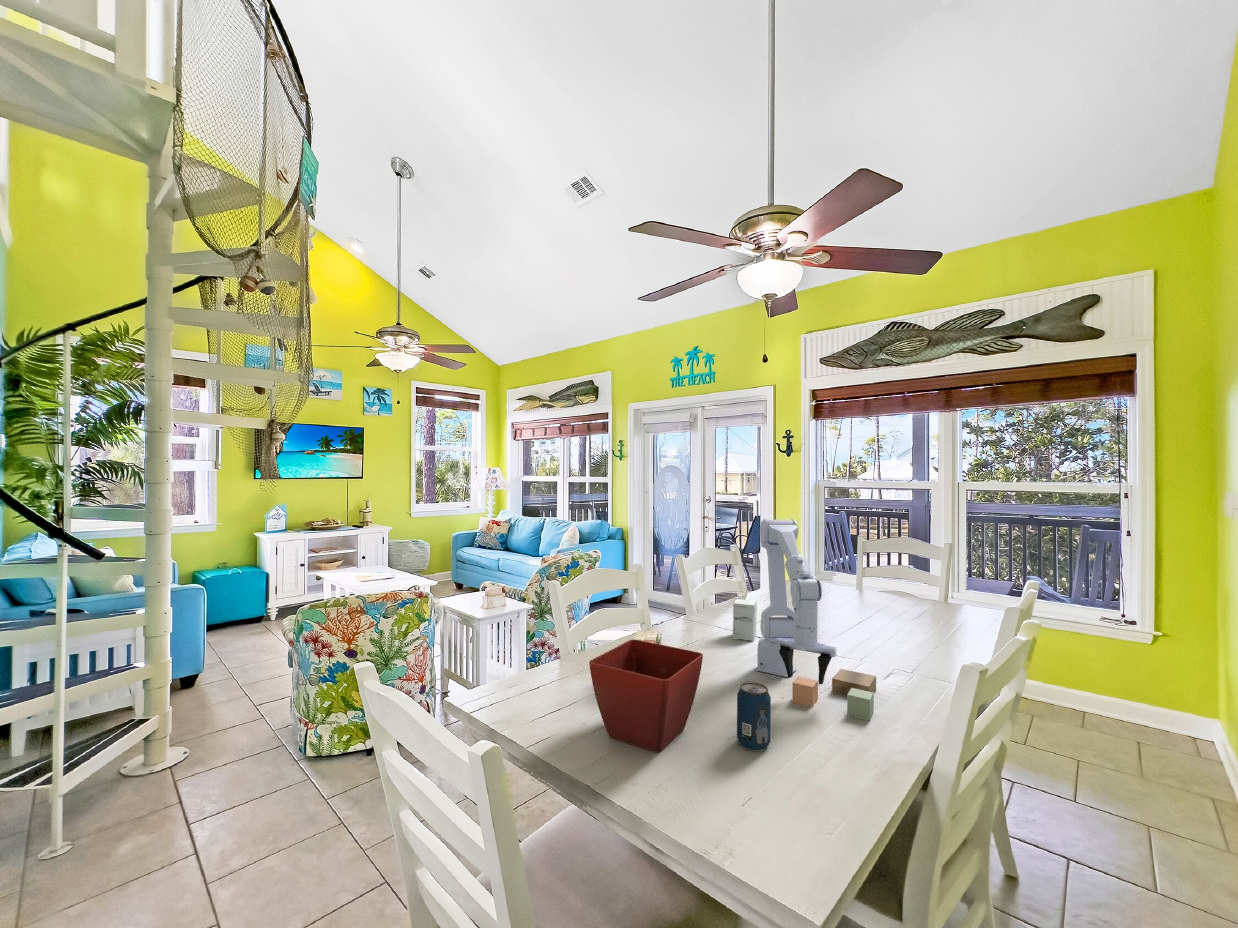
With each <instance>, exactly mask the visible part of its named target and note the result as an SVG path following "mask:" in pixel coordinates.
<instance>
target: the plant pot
mask: <svg viewBox="0 0 1238 928" xmlns="http://www.w3.org/2000/svg"><path fill="white" fill-rule="evenodd" d="M703 658H704V654H703V653H702V652H698V651H694V650H689V649H684V648H679V647H674V646H671V645H670V646H669V645H664V644H662V645H660V644H656V643H651V642H646V641H641V640H635V639H634V638H633V639H629V640H628V641H626V642H624V643H622V644H619V645H617V646H615V647H614V648H612V649H610V650H608V651H606V652H604V653H602V654H600V655H598V656H596V657H594V658H593V659H590V660H589V664H588V665H589V671H590V672H589V673H590V677H591V682H592V688H593V691H594V695H595V700H596V704H597V706H598V711H599V714H600V716H601V720H602V722H603V724H604V727H605V731H606V732H607V735H608V737H609V738H610V739H613V740H617V741H620V742H624V743H626V744H629V745H633V746H635V747H638V748H642V749H645V750H648V751H651V752H655V753H660V752H662V751H663V750H664V749H665V748H666V747H667V746H668V745H669V744H670V743H671V742H672V741H673V740H674V739H675V738H677V737H678V735H680V734H681V733H682V732H683V731H684V730H685V728H686V725H687V722H688V720H689V717H690V714H691V710H692V708H693V704H694V701H695V697H696V694H697V689H698V685H699V681H700V676H701V671H702V665H703Z"/></svg>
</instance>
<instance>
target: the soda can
mask: <svg viewBox="0 0 1238 928" xmlns="http://www.w3.org/2000/svg"><path fill="white" fill-rule="evenodd" d="M738 689H739V690H738V692H737V694H736V696H737V697H736V698H737V699H736V701H737V702H736V738H737V741H738V742H739V744H740V746H741V747H742V748H744V749H745V750H747V751H751V750H754V751H753V752H762V751H764V750H766V749H767V748H768V746H769V745H770V744H771V733H772V732H771V731H772V730H771V726H772V725H771V720H772V719H771V718H772V717H771V716H772V715H771V711H772V710H771V705H772V704H771V702H772V701H771V700H772V699H771V694H770V692H769V689H768V687H767V686H766V685H764V684H761V683H758V682H743V683H741V684H740V686H739V688H738ZM761 750H762V751H761Z"/></svg>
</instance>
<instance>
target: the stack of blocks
mask: <svg viewBox="0 0 1238 928" xmlns="http://www.w3.org/2000/svg"><path fill="white" fill-rule="evenodd" d="M633 639H635V640H641V641H646V642H651V643H656V644H660V645H663V642H662V632H661V631H659V630H645V629H637V630H636V634H635V635H634V637H633Z"/></svg>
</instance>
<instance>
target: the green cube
mask: <svg viewBox="0 0 1238 928" xmlns="http://www.w3.org/2000/svg"><path fill="white" fill-rule="evenodd" d="M874 698H875V693H873V692H868V691H864V690H859V689H854V688H851V690H850V691H849V693H848V694H847V696H846V699H847V701H846V702H847V703H846V705H847V706H846V707H847V708H846V709H847V710H846V711H847V713H846V714H847V715H846V716H848V715H849V717H852V716H853V717H852V718H856V717H858V718H857V719H860V720H864V719H865V720H864V721H868V720H870V721H871V719H872V718H871V717H873V716H872V715H874V712H875V710H874V709H875V708H874V706H875V705H874V703H875V701H874V700H875V699H874Z"/></svg>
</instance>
